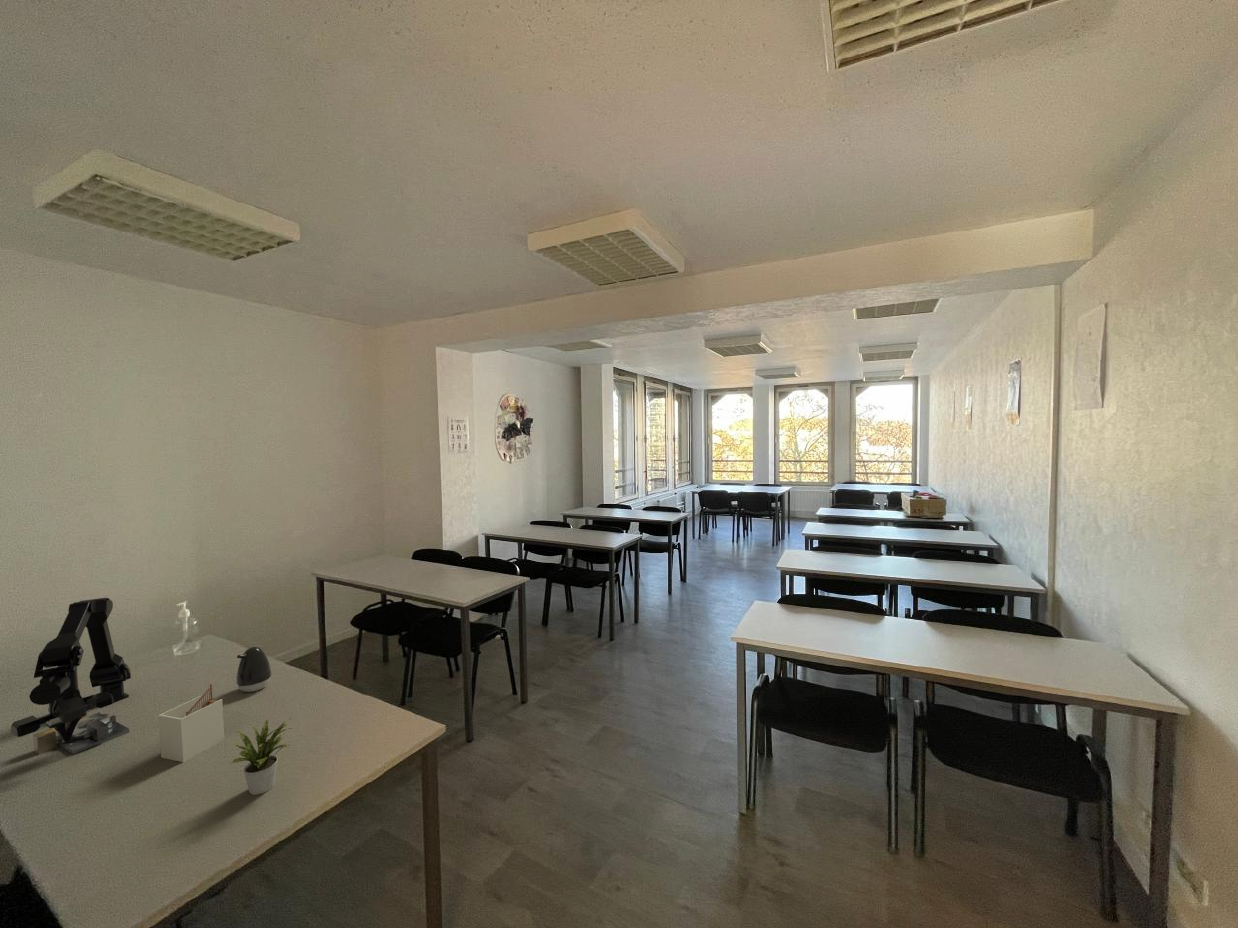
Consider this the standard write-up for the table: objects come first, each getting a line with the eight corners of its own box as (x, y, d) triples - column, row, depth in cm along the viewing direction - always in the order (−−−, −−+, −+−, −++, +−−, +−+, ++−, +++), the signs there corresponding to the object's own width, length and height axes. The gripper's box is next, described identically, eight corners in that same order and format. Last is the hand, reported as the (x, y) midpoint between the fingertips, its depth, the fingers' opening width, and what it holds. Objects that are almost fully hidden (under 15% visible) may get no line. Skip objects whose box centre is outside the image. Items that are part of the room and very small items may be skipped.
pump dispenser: (228, 693, 172) (226, 651, 171) (258, 680, 182) (256, 639, 181) (250, 697, 169) (247, 654, 168) (279, 683, 179) (276, 642, 178)
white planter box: (225, 740, 146) (222, 685, 145) (183, 763, 135) (180, 705, 134) (203, 735, 148) (200, 682, 147) (161, 758, 138) (157, 701, 137)
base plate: (44, 735, 149) (43, 731, 149) (99, 715, 160) (98, 712, 160) (73, 754, 139) (72, 750, 139) (129, 731, 150) (129, 728, 150)
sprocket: (48, 735, 147) (47, 723, 147) (106, 714, 158) (105, 703, 158) (72, 751, 139) (71, 738, 138) (131, 728, 150) (131, 716, 150)
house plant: (304, 788, 124) (301, 725, 123) (235, 818, 114) (231, 750, 113) (292, 762, 134) (289, 704, 133) (227, 788, 124) (224, 726, 124)
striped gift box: (34, 751, 141) (32, 734, 141) (52, 744, 144) (50, 728, 144) (38, 754, 140) (37, 737, 139) (56, 747, 143) (55, 731, 143)
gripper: (22, 711, 127) (27, 769, 128) (120, 679, 144) (123, 731, 145) (8, 701, 132) (12, 758, 133) (104, 672, 149) (107, 722, 149)
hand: (67, 741), depth 140 cm, fingers closed
